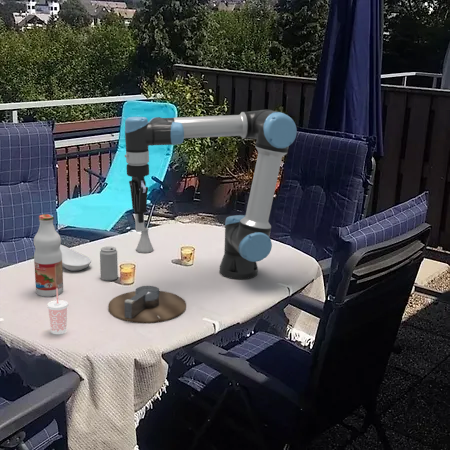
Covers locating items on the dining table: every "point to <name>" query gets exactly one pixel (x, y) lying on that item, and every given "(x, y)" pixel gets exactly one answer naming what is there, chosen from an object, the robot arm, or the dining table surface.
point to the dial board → (164, 311)
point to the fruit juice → (48, 258)
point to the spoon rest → (73, 259)
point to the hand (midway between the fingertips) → (140, 230)
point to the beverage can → (108, 263)
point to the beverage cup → (58, 315)
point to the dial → (142, 300)
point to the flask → (144, 242)
